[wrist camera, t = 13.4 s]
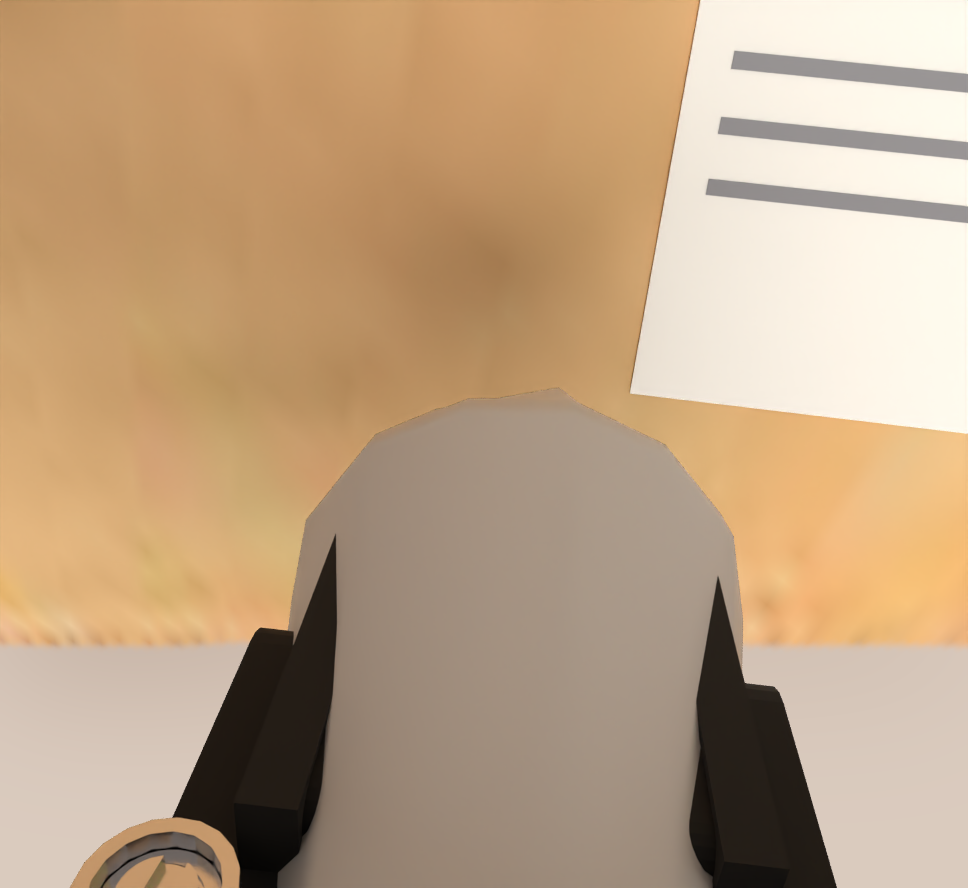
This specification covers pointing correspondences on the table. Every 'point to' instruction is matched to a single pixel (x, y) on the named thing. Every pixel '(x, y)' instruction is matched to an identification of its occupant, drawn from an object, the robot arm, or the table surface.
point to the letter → (817, 215)
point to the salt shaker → (513, 653)
